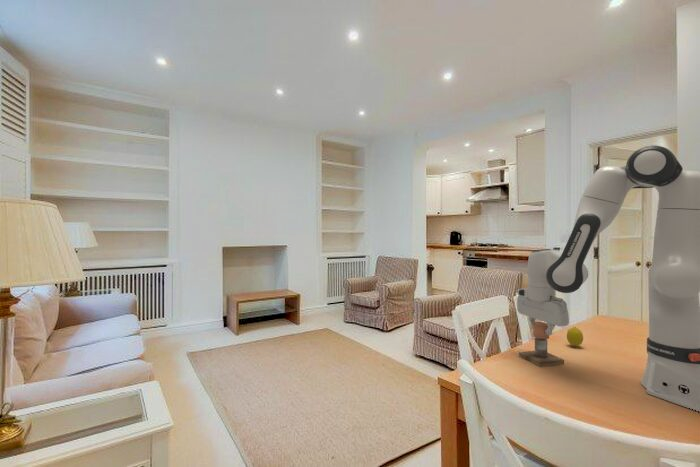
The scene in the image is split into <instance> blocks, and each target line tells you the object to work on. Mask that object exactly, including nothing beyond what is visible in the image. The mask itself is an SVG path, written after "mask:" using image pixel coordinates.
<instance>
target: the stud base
mask: <svg viewBox="0 0 700 467" xmlns="http://www.w3.org/2000/svg"><path fill="white" fill-rule="evenodd" d="M518 354H519V355H518V356H519V357H520V358H522V359H524V360H525V361H528V362H530V363H532V364H534V365H536V366H538V367H540V368H542V367H550V366H551V367H552V366H558V365H559V366H560V365H564V364H565V359H563V358H561V357H559V356H557V355H554V354H552V353H549V352H548V339H539V338H536V337H534V350H530V351H529V350H528V351H520V352H518Z"/></svg>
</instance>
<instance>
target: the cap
mask: <svg viewBox="0 0 700 467" xmlns="http://www.w3.org/2000/svg"><path fill="white" fill-rule="evenodd" d="M547 328H548V325H547V322H544V321H535V323H533V329H532V331H533V333H532V334H533V335H532V336H533V337H534V338H539V339H547V340H548V339H550V335H546V334H545V329H547Z"/></svg>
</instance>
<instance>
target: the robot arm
mask: <svg viewBox="0 0 700 467" xmlns="http://www.w3.org/2000/svg"><path fill="white" fill-rule="evenodd" d="M651 188H652V189H653V188H655V189H656V191H657V193H658V204H657V210H656V219H655V226H654V235H653V247H652V248H653V249H652V258H651V260H652V261H651V265H650V266H649V267H648V272H647V274H648V337H647V338H646V352H647V360H646V361H647V362H646V366H645V367H646V368H645V371H644V374H643V377H642V380H641V385H642V387H643V388H645V391H646V393H647V394H648V395H651V396H653V397H656V398H659V399H662V400H665V401H667V402H669V403H673V404H676V405H679V406H681V407H685V408H687V409H689V408H690V409H689V410H692V409H693V410H692V411H695V410H696V412H698V411H699V412H698V413H700V171H697V170H684V169H683V166H682V165H681V163H680V161H679V160H678V159H677V157H676V156H675V154H674V153H673V152H672V151H671V150H670V149H668V148H667V147H665V146H661V145H647V146H644V147H641V148H639V149H637V150H635V151H634V152H632V154H631V155H630V156H629V157H628V159H627V160H626V163H625V164H624V165H623V166H616V165H606V166H602V167H600V168H598V169H596V171H595V172H594V173H593V175H592V176H591V178H590V180H589V181H588V183H587V185H586V187H585V189H584V191H583V193H582V196H581V197H580V200H579V202H578V207H577V211H576V215H575V219H574V224H573V228H572V231H571V233H570V236H569V238H568V240H567V242H566V244H565V247H564V248H563V251H562V253H561V254H560V253H558V252H556V251H555V250H554V249H553V248H544V249H537V250H534V251H531V253H529V256H528V260H527V275H528V280H527V287H524V288H519V289H517V291H516V293H517V294H516V295H517V298H516V309H517V312H518V313H519V314H520V315H523V316H526V317H527V318H528V321H529V323H530V329H531V330H533V323H535V322H536V320H539V321H540V322H544V323H547V325H548V328H547V329H545V334H546V335H549V336H552V335H553V330H554V329H555V327H556V326H557V327H567V326H568V325H569V324H570V318H569V311H568V306H567V305H568V304H567V302H566V301H565V300H564V299H563V298H561V297H556V292H558V293H561V294H562V293H563V294H570V293H573V292H576V291H578V290H579V289H580V287H581V286H582V285H584V284H585V282H586V281H587V279H588V277H589V270H588V268H587V266H586V264H584V262H585V261H586V258H587V256H588V254H589V253H590V252H589V251H590V250H591V247H592V245H593V243H594V241H595V240H596V238H597V237H598V236H599V235H600V233H601V232H603V231H604V230H606V228H608V227H609V226H611V224H612V222H613V221H614V220H615V218H616V217H617V215H618V214H619V212H620V210H621V208H622V206H623V204H624V201H625V199H626V197H627V195H628V193H629V192H630V191H631V190H632V189H651Z"/></svg>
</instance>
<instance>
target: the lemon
mask: <svg viewBox="0 0 700 467" xmlns="http://www.w3.org/2000/svg"><path fill="white" fill-rule="evenodd" d="M566 339H567V340H566V341H567V342H568V343H569V344H570V345H572V346H573V347H574V348H576V347H577V346H581V345H582V343H583V341H584V334H583V332H582V331H581V330H580V329H579V328H577V327H576V326H573V327H571V328H569V329H568V330H567V332H566Z"/></svg>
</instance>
